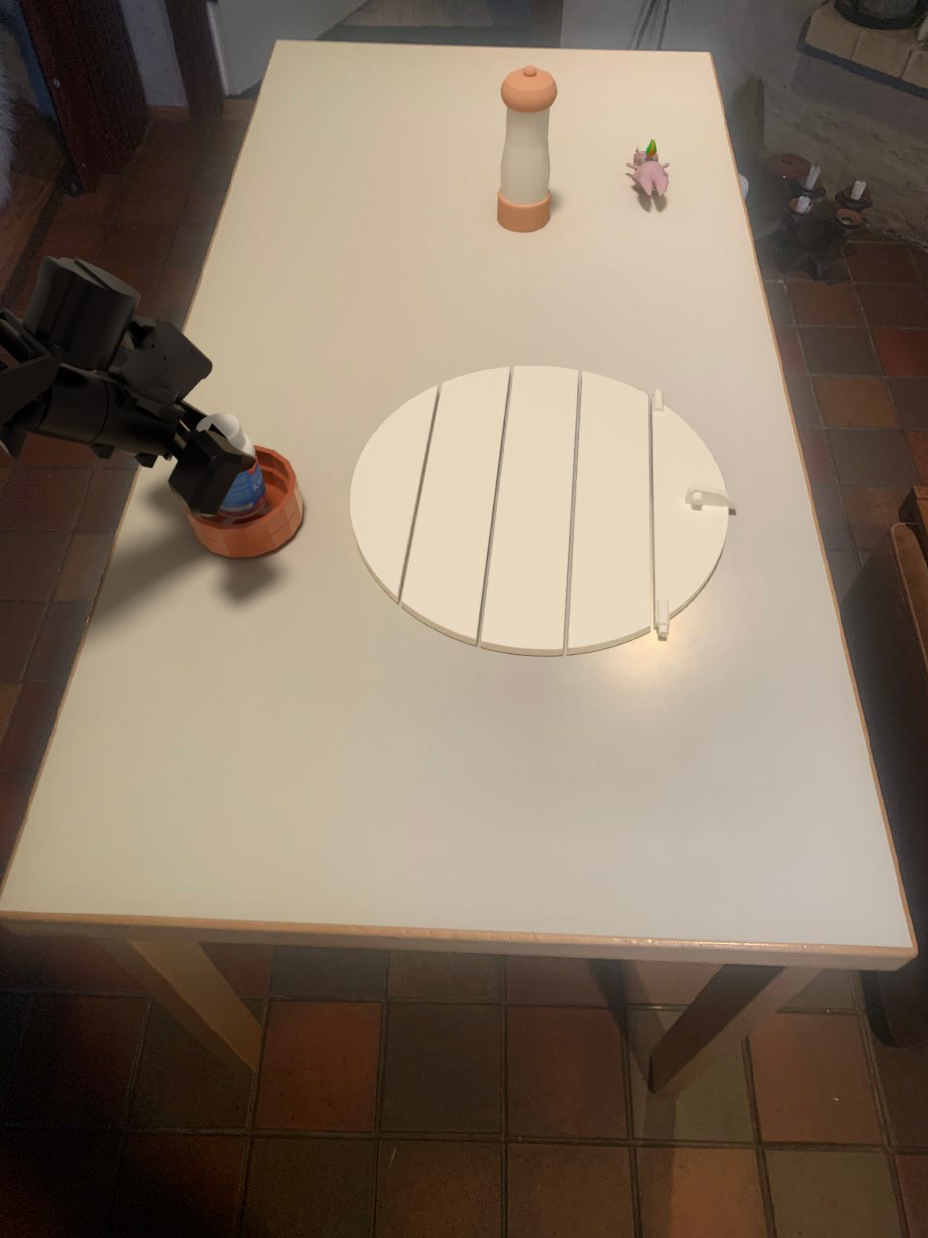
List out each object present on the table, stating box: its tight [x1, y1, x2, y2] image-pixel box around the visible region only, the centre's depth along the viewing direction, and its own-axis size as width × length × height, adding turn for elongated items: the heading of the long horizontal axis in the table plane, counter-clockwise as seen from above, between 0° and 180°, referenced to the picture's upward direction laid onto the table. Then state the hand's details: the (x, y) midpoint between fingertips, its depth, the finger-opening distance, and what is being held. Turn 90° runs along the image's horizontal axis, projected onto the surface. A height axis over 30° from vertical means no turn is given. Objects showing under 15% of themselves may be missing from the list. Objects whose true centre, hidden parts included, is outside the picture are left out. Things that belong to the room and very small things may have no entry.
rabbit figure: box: [625, 138, 670, 197], centre depth 119 cm, size 6×6×15 cm
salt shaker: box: [496, 64, 558, 233], centre depth 110 cm, size 7×7×19 cm
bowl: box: [182, 444, 304, 559], centre depth 85 cm, size 11×11×5 cm
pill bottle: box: [196, 412, 267, 519], centre depth 81 cm, size 6×5×10 cm
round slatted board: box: [349, 365, 738, 657], centre depth 87 cm, size 40×39×3 cm
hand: (237, 446), depth 80 cm, fingers closed on pill bottle, 5 cm apart
